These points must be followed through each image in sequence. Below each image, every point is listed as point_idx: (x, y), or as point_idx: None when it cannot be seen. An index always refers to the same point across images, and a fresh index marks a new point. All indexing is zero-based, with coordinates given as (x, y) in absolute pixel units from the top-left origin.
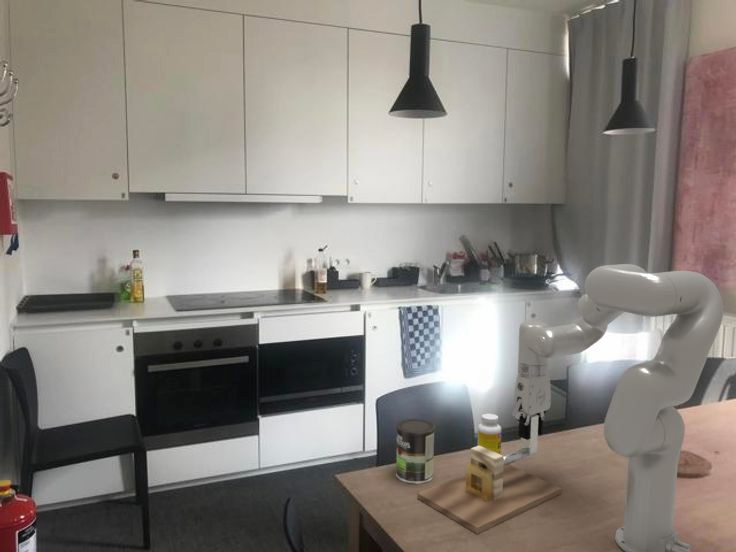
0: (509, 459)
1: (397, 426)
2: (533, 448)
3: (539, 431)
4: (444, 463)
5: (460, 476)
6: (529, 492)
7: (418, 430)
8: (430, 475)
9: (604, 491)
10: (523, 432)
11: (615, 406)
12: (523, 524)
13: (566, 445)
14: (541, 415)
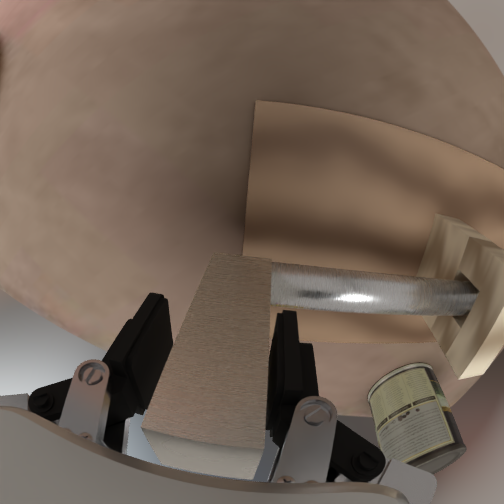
0: (404, 283)
1: (441, 469)
2: (241, 267)
3: (160, 314)
4: (322, 392)
5: (390, 342)
6: (367, 164)
7: (448, 457)
8: (412, 372)
9: (140, 40)
10: (311, 364)
11: None
12: (473, 118)
13: (29, 266)
14: (98, 400)
